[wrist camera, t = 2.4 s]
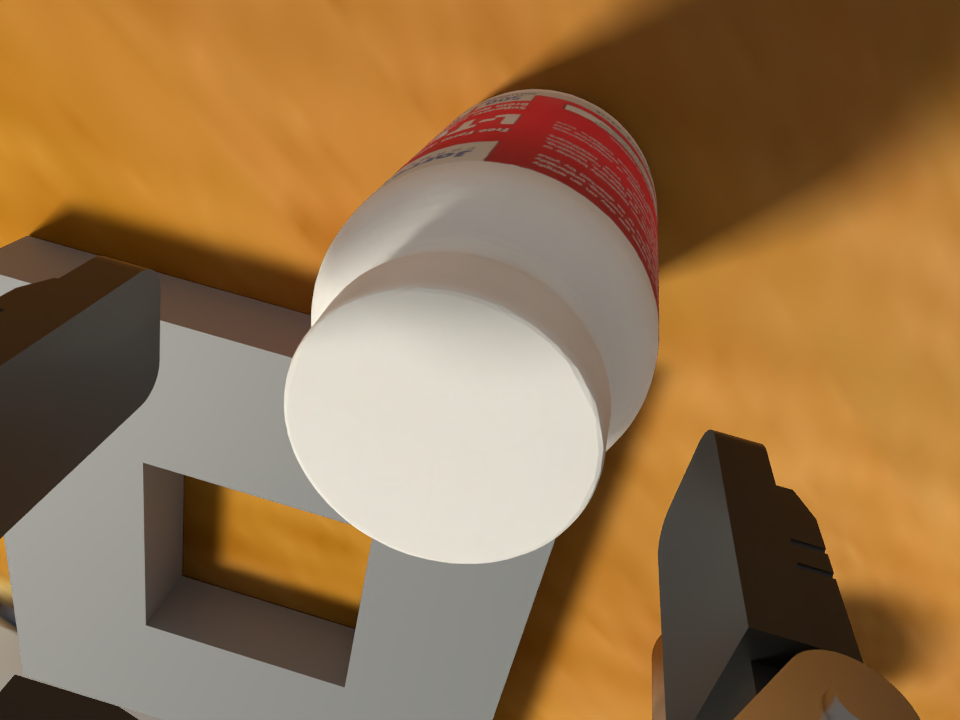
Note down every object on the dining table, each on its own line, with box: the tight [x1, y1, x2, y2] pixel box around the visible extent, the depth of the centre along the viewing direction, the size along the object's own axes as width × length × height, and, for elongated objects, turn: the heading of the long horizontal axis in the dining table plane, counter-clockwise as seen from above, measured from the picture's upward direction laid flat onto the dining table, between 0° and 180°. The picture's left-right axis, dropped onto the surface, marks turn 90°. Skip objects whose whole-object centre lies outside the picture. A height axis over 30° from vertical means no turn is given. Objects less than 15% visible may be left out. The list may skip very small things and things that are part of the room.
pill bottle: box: [284, 89, 659, 564], centre depth 16 cm, size 6×6×11 cm
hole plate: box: [0, 236, 556, 720], centre depth 27 cm, size 18×18×2 cm
